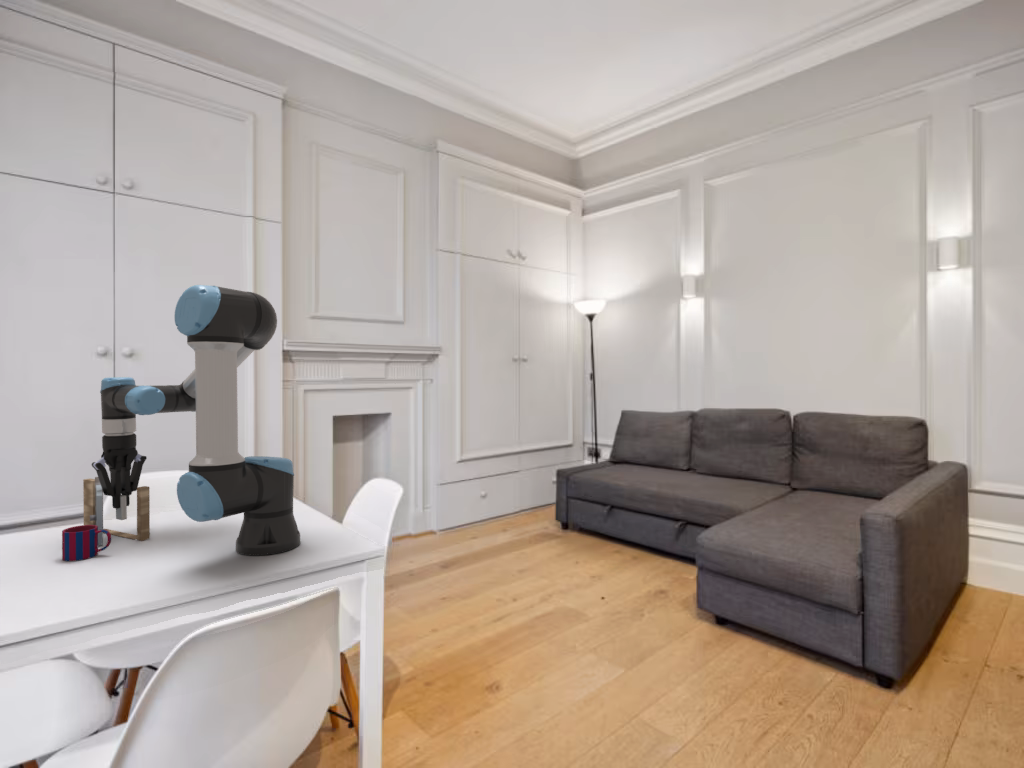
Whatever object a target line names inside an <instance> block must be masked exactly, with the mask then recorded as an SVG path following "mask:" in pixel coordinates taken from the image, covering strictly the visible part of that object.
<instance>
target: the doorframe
mask: <svg viewBox="0 0 1024 768" xmlns="http://www.w3.org/2000/svg"><path fill="white" fill-rule="evenodd" d="M82 481H83V485H82V486H83V487H82V489H83V491H82V492H83V495H82V496H83V525H96V520H94V521H90V515H96V485H101V484H100V481H99V478H98V476H95V477H94V478H89V477H88V478H84V479H82ZM102 495H103V496H104V493H103V490H102ZM150 496H151V495H150V486H147V485H143V486H138V487H137V490H136V534H133V533H129V532H123V531H119V530H114V529H109V528H103V530H107V531H109V532H110V534H111V536H115V537H120V538H124V539H129V540H133V541H134V540H137V541H141V542H143V541H146V540H150V539H151V538H150V534H151V533H150V531H151V529H150V518H151V517H150V513H151V512H150V511H151V510H150V507H151V506H150V504H151V502H150V499H151V498H150ZM103 534H105V535H106V533H104V532H103Z"/></svg>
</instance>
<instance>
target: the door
mask: <svg viewBox="0 0 1024 768" xmlns="http://www.w3.org/2000/svg"><path fill="white" fill-rule="evenodd" d="M94 520H96V525H97V526H98V531H99V530H103V529H104V494H103V495H102V487H101V485H96V515H90V521H94ZM103 534H104V533H103V532H100V533H98V546H103V544H104V543H103V542H104V538H103V537H104V536H103Z"/></svg>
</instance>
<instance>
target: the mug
mask: <svg viewBox="0 0 1024 768" xmlns="http://www.w3.org/2000/svg"><path fill="white" fill-rule="evenodd" d="M61 532H62V533H61V543H62V544H61V548H62V549H61V553H62V554H61V558H62V561H64V562H79V561H84V560H88V559H91V558H95V557H97V556H98V555H99V552H102V551H104V550H106V549H107V548H108V547H109V546H110V545H111V543H112V535H111V534H110V532H109V531H107V530H99V531H98V526H97V525H84V524H83V525H76V526H70V527H68V528H65V529H62V531H61ZM100 532H104V533H106V534H105V535H106V537H107V542H106V545H105V546H103V547H102V548H99V545H98V533H100ZM104 533H103V534H104Z"/></svg>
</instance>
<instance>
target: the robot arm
mask: <svg viewBox="0 0 1024 768" xmlns="http://www.w3.org/2000/svg"><path fill="white" fill-rule="evenodd" d="M174 324H175V326H176V330H177V331H178V332H179V333H180V334H183V336H186V338H187V339H186V340H187V341H186V344H187V346H189V347H190V348H191V349H192V350H193V351H194V366H195V367H194V370H192V372H190V374H189V375H188V376H186V378H185V379H184V380H183V381H182V382H181V383H180V384H176V385H175V384H173V385H169V384H167V385H136V380H135V379H134V378H133V377H130V376H128V377H127V376H126V377H125V376H124V377H123V376H122V377H121V376H120V377H117V376H114V377H104V378H103V379H101V382H100V384H101V385H100V391H99V393H100V405H101V407H100V409H101V432H102V434H103V435H102V436H101V442H102V443H101V444H102V446H101V447H102V453H101V458H99V459H98V460H97V461H94V462H92V463H91V467H92V468H93V469H94V470H95V472H96V474H97V477H98V478H99V481H100V484H101V487H102V490H103V496H104V495H105V496H107V497H108V496H109V497H111V498H112V499H111V500H112V501H111V503H112V508H113V509H115V519H116V520H119V521H123V520H124V521H125V520H127V518H128V514H127V513H128V511H127V508H128V507H129V506H130V496H132V494H133V493H134V492H137V487H139V484H140V483H139V482H140V478H141V475H142V470H143V466H144V463H145V461H146V460H147V456H145V455H142V454H139V452H138V449H137V434H136V433H135V432H136V431H137V419H136V415H139V416H150V415H155V414H162V413H163V414H164V413H165V414H166V413H184V412H193V413H194V412H195V446H196V449H195V450H196V451H195V454H196V455H195V456H194V457H193V458H191V460H190V461H189V462H188V471H187V472H185V473H184V474H182V475H180V477H179V478H178V482H177V483H176V495H177V500H178V503H179V506H180V507H181V510H182V511H183V512H184V514H185V515H186V516H187V517H188V518H189V519H191V520H192V521H195V522H197V523H198V522H199V523H205V522H211V521H218V520H221V519H224V518H227V517H231V516H235V515H239V514H243V519H242V522H241V526H240V529H239V533H238V536H237V538H236V540H235V552H237V553H238V554H240V555H244V556H245V555H246V556H267V555H274V554H280V553H284V552H287V551H290V550H293V549H296V548H297V547H298V546H300V544H301V532H300V531H299V528H298V525H297V521H296V518H295V516H294V476H295V474H294V464H293V461H292V460H291V459H289V458H287V457H278V456H255V455H254V456H252V455H251V456H245V457H244V456H243V455H241V454H240V453H239V436H238V435H239V428H238V426H239V425H238V423H239V422H238V421H239V420H238V419H239V417H238V368H239V367H240V366H241V365H242V364H243V363H244V362H245V361H246V359H247V358H249V357H250V355H252V353H254V351H260V350H261V349H263V348H264V347H265V346H266V345H268V343H269V342H270V341H271V340H272V339H273V336H274V334H275V333H276V330H277V327H278V317H277V312H276V311H275V308H274V307H273V305H272V303H271V302H270V300H269V299H267V298H266V297H264V296H262V295H261V294H258V293H257V292H253V291H252V292H251V291H243V290H240V289H239V290H238V289H234V288H227V287H222V286H216V285H205V284H196V285H192V286H190V287H188V288H186V289H185V291H184V290H183V292H182V293H181V295H180V297H178V300H177V303H176V305H175V308H174ZM132 463H133V464H132ZM106 466H108V470H107V469H106ZM108 471H109V472H110V475H109V473H108Z"/></svg>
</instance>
